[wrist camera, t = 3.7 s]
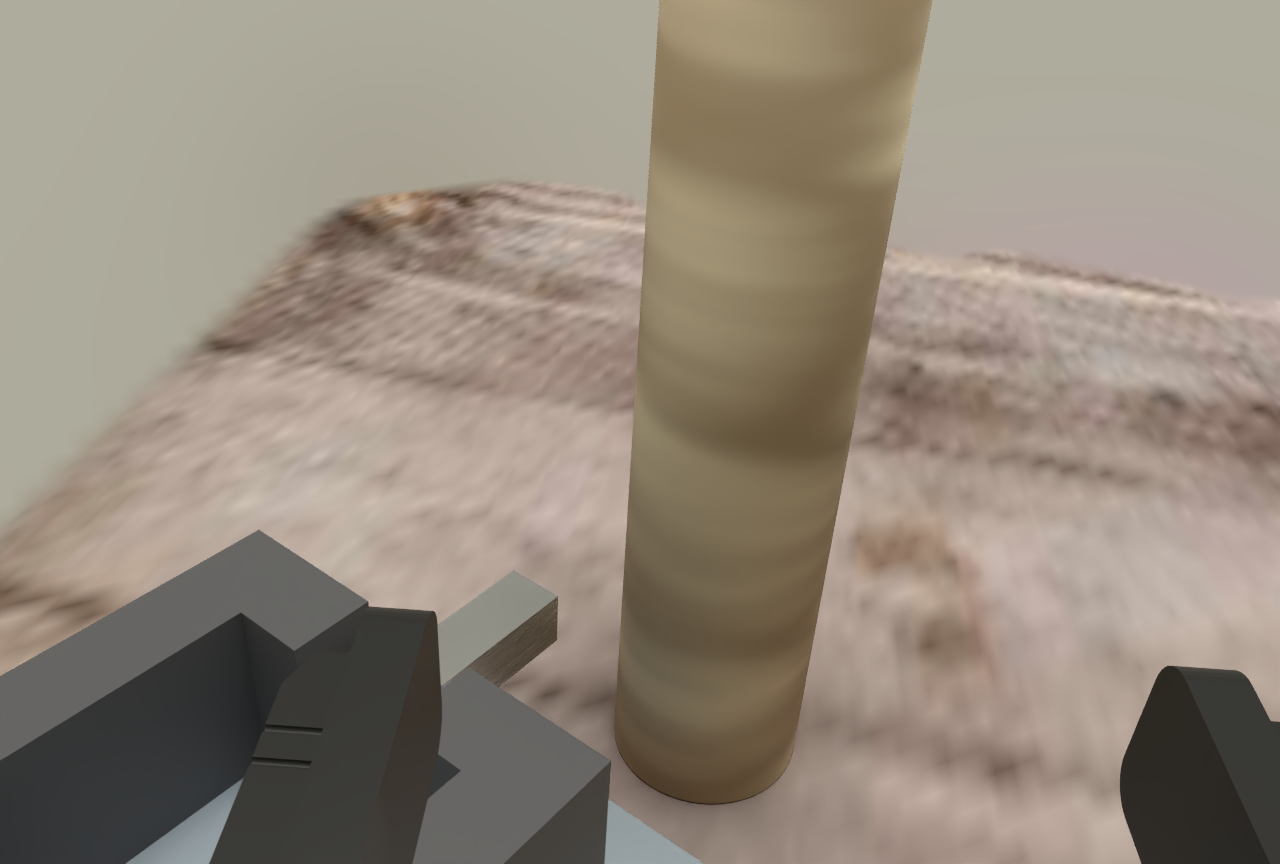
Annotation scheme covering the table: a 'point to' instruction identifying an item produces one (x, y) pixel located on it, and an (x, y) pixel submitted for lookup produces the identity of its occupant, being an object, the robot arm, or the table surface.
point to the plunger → (498, 630)
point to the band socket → (235, 718)
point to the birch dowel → (750, 365)
